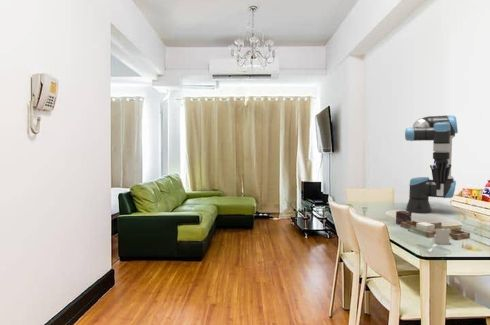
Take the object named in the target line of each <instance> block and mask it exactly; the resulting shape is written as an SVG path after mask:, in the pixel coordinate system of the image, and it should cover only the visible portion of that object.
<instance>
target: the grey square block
mask: <svg viewBox="0 0 490 325" xmlns="http://www.w3.org/2000/svg"><path fill="white" fill-rule="evenodd" d="M435 231H436V233H435V235H434V238H433V240H434V242H433V243H434V244H436V245H450V239H451V240H453V239H452V237H451V236H449V232H450V229H444V228H442V229H439V228H435Z"/></svg>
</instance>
